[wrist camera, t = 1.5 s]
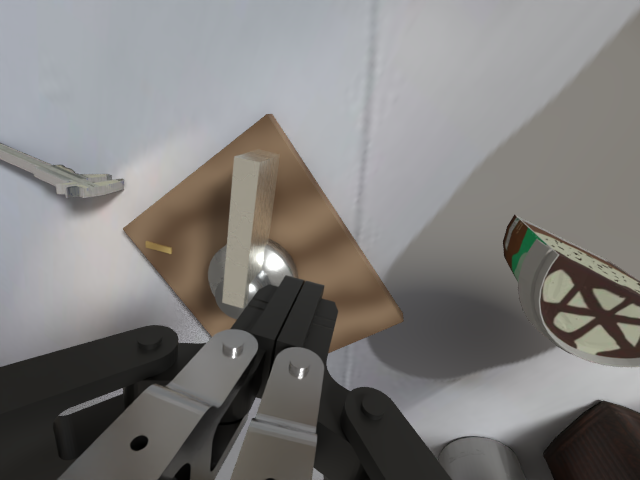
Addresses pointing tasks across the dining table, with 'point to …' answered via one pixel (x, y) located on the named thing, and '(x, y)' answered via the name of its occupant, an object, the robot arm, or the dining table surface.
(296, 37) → the dining table surface
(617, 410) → the dark brown wooden box
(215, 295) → the beige bar and knob
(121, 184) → the caliper
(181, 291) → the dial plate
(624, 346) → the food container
